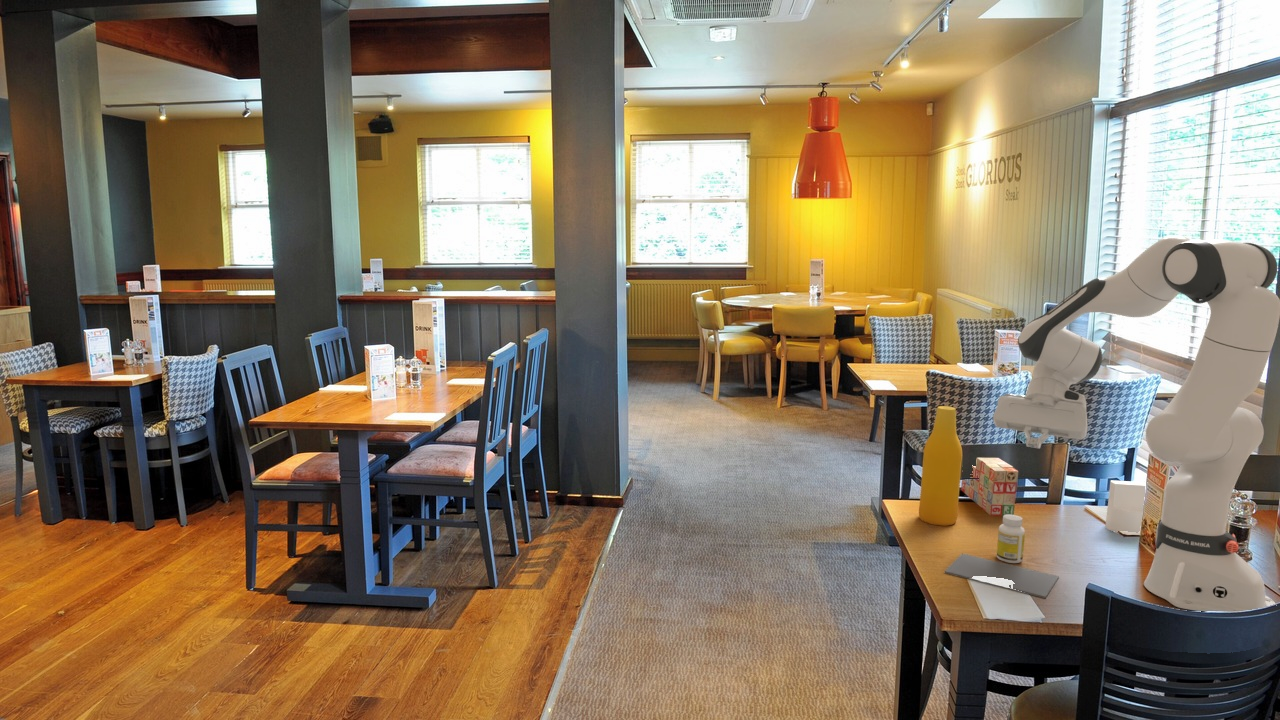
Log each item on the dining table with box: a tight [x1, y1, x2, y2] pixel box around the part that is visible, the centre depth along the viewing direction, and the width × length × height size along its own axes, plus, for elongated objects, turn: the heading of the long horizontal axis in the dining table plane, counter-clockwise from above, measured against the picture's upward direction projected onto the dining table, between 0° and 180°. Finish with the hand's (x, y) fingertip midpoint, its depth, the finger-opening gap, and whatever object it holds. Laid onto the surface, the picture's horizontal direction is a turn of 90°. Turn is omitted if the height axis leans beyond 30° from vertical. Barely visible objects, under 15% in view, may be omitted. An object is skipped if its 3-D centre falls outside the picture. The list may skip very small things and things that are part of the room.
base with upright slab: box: [1104, 480, 1146, 533], centre depth 212 cm, size 9×9×12 cm
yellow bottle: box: [918, 405, 963, 527], centre depth 215 cm, size 9×9×29 cm
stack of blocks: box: [960, 457, 1019, 516], centre depth 231 cm, size 21×6×12 cm, turn 0°
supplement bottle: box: [996, 514, 1026, 564], centre depth 191 cm, size 5×5×10 cm
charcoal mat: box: [943, 553, 1059, 599], centre depth 182 cm, size 20×13×1 cm, turn 54°
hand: (1032, 446), depth 199 cm, fingers closed
